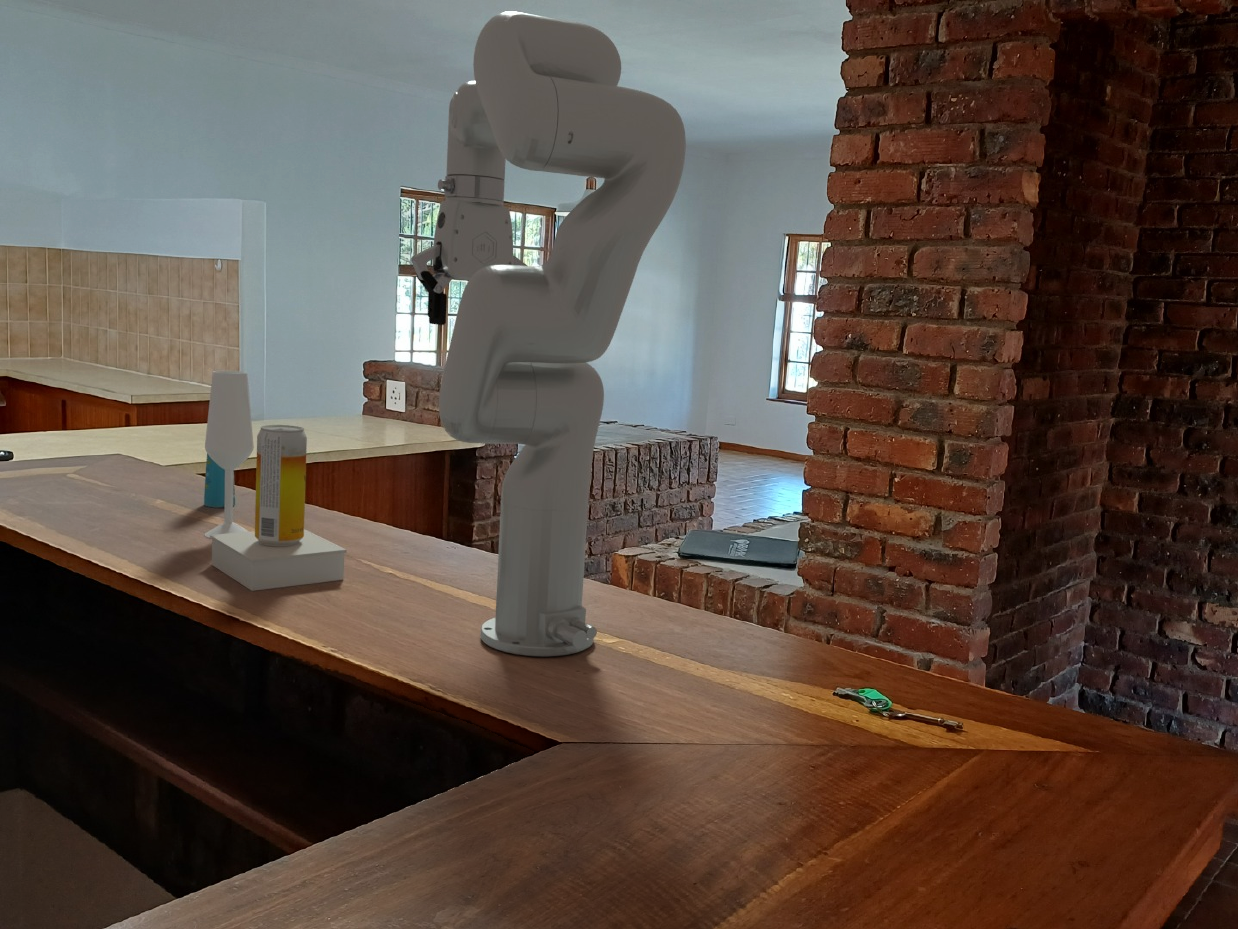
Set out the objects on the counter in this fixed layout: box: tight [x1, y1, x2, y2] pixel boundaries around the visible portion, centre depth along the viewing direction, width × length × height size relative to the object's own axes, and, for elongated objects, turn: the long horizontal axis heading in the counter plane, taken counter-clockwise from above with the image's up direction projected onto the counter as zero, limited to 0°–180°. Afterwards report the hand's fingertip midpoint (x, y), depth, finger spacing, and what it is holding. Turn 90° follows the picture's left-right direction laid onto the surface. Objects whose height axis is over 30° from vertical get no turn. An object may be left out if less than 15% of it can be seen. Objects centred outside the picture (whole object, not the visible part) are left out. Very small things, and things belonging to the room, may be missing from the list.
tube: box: [203, 452, 236, 509], centre depth 179 cm, size 7×5×19 cm, turn 28°
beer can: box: [254, 424, 308, 547], centre depth 140 cm, size 6×6×15 cm
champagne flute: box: [204, 370, 255, 539], centre depth 159 cm, size 7×7×24 cm
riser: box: [209, 528, 347, 592], centre depth 142 cm, size 14×12×4 cm
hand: (469, 325), depth 144 cm, fingers open, 9 cm apart
